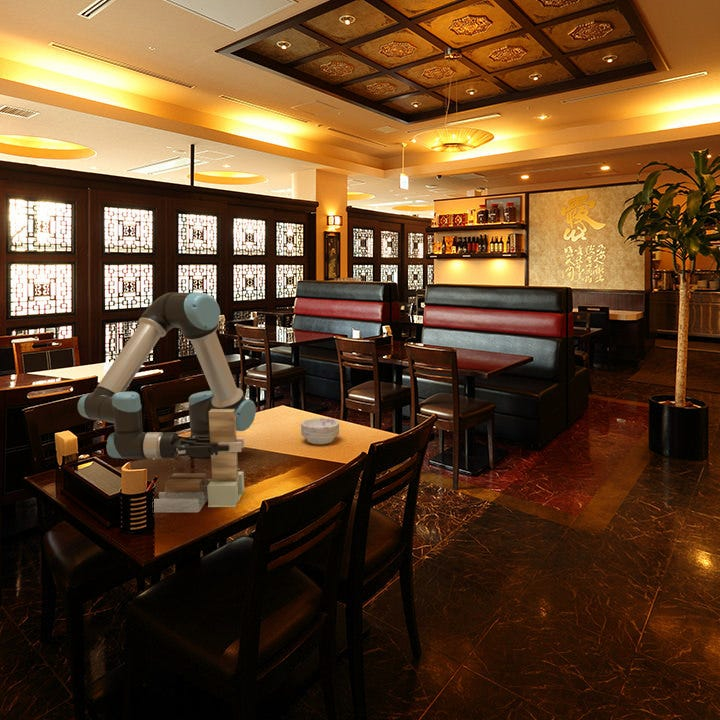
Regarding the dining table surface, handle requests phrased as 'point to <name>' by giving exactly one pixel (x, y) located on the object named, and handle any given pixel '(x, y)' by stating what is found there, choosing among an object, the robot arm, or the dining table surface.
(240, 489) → the slot holder
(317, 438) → the white bowl
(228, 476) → the tall board
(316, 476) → the dining table surface
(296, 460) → the dining table surface
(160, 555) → the dining table surface
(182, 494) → the offcut rack
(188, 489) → the block
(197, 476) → the offcut
